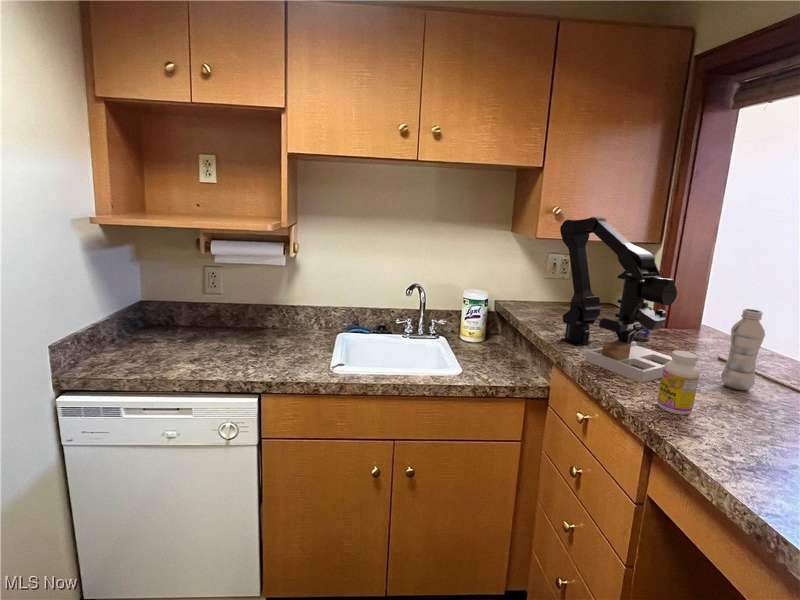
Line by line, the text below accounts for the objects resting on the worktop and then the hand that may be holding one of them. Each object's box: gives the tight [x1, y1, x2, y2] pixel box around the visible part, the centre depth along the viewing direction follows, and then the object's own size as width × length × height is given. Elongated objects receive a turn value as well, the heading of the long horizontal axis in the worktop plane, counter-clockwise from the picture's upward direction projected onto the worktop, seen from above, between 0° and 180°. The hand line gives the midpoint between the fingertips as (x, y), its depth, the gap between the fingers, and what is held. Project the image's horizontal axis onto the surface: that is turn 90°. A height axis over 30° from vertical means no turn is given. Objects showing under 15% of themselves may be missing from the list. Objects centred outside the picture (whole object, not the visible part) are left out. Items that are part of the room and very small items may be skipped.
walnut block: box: [602, 338, 631, 360], centre depth 124 cm, size 5×5×4 cm
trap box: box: [584, 340, 672, 384], centre depth 124 cm, size 17×22×3 cm
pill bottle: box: [633, 306, 653, 342], centre depth 148 cm, size 6×6×11 cm
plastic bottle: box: [720, 308, 766, 391], centre depth 109 cm, size 6×7×20 cm
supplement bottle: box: [656, 349, 701, 416], centre depth 97 cm, size 7×7×13 cm
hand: (624, 350), depth 126 cm, fingers closed
